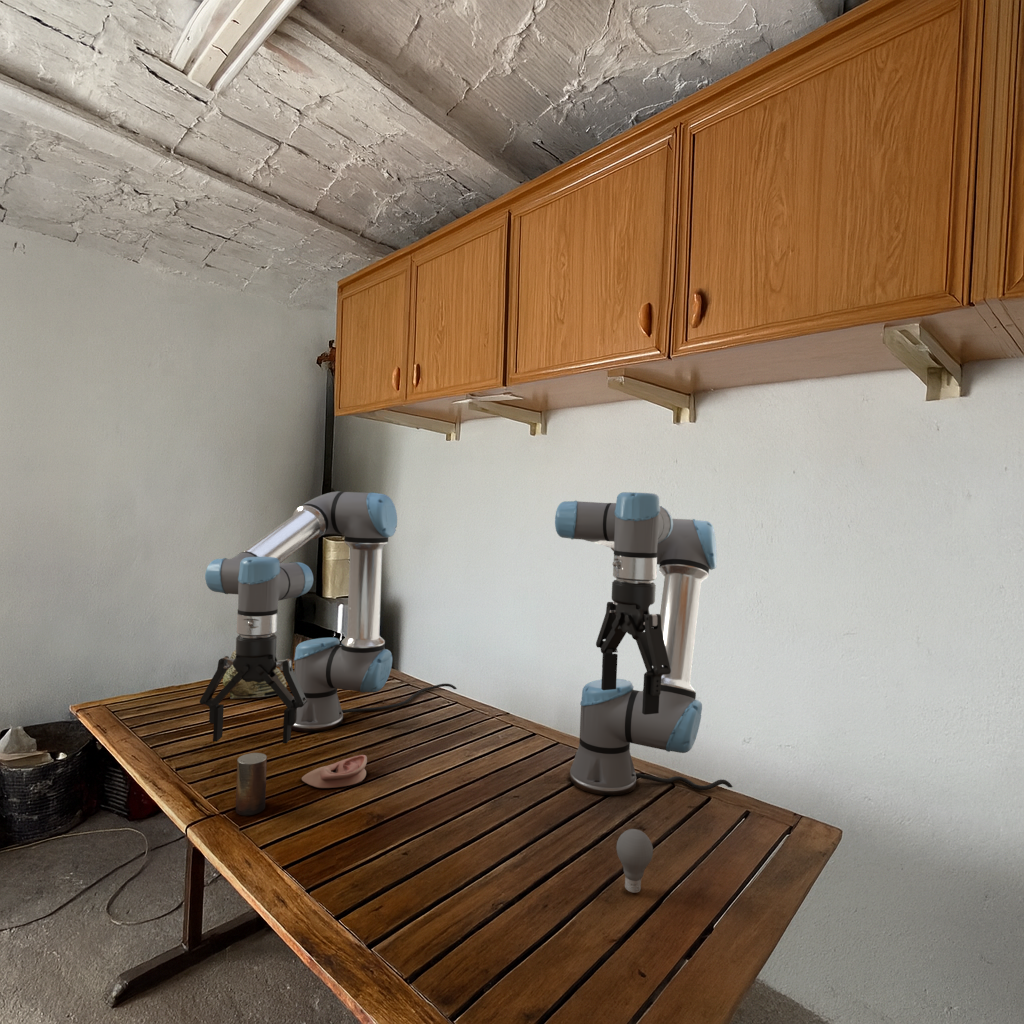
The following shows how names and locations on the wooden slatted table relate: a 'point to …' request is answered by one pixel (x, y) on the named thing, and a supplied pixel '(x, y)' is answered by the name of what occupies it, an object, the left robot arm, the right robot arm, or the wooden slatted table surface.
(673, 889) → the wooden slatted table surface
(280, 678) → the fossil
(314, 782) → the anatomical model
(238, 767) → the can
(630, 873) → the light bulb
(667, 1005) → the wooden slatted table surface
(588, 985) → the wooden slatted table surface
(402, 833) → the wooden slatted table surface
